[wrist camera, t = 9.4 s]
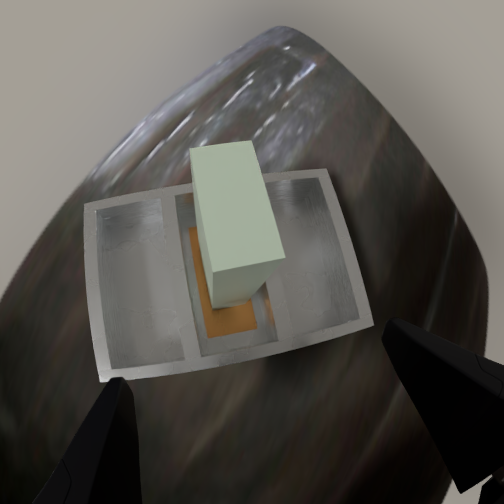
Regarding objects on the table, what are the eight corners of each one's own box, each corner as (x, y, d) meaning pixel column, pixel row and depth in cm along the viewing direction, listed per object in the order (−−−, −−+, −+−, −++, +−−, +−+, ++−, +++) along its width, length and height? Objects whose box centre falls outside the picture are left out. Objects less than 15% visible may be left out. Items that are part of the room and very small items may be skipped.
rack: (345, 329, 19) (374, 325, 15) (121, 374, 16) (100, 382, 12) (307, 192, 21) (324, 164, 18) (103, 223, 19) (84, 199, 15)
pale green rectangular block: (245, 303, 17) (285, 257, 8) (212, 310, 17) (213, 272, 8) (230, 241, 18) (251, 140, 9) (199, 247, 18) (189, 148, 9)
